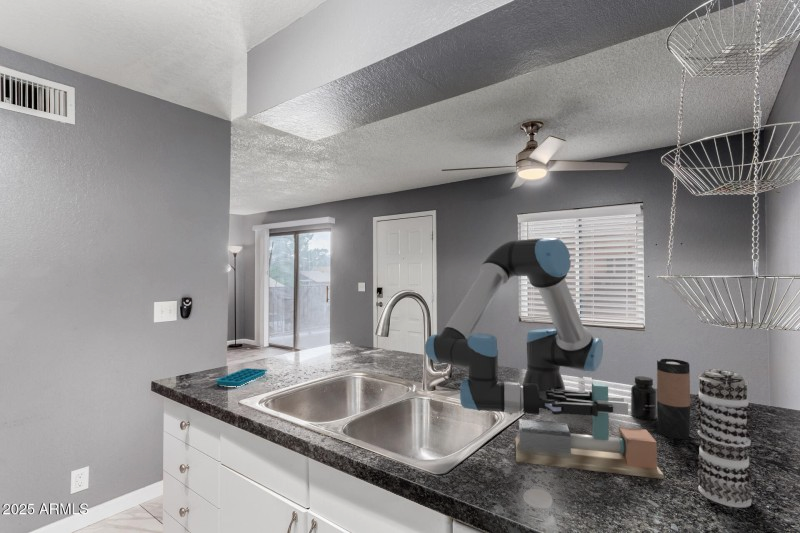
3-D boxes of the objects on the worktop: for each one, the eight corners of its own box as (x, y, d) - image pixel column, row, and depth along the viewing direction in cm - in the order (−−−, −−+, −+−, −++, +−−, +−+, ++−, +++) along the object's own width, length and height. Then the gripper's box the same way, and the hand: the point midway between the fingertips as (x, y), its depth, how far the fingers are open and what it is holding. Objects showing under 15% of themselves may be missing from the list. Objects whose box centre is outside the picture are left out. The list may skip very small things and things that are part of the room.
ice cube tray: (268, 376, 175) (268, 369, 175) (238, 390, 155) (238, 382, 155) (245, 374, 178) (245, 368, 178) (213, 388, 159) (213, 380, 159)
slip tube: (552, 448, 98) (551, 383, 98) (551, 442, 101) (550, 379, 101) (625, 456, 93) (624, 388, 93) (621, 450, 97) (620, 383, 97)
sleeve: (519, 453, 98) (519, 429, 98) (519, 441, 105) (519, 419, 105) (570, 458, 95) (570, 434, 95) (566, 446, 102) (566, 423, 102)
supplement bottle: (651, 422, 119) (650, 382, 119) (627, 415, 125) (626, 377, 125) (660, 417, 123) (660, 378, 123) (637, 411, 129) (636, 373, 129)
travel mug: (696, 440, 107) (695, 365, 107) (664, 438, 108) (663, 364, 108) (682, 429, 114) (681, 359, 114) (652, 427, 116) (652, 358, 116)
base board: (516, 461, 96) (516, 457, 96) (515, 440, 107) (515, 436, 107) (663, 479, 87) (663, 474, 87) (645, 454, 99) (645, 450, 99)
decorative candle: (729, 512, 76) (727, 379, 76) (684, 486, 85) (683, 368, 85) (767, 505, 77) (765, 376, 78) (719, 481, 86) (718, 365, 87)
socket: (627, 465, 91) (626, 439, 92) (619, 451, 98) (618, 427, 98) (656, 468, 90) (656, 442, 90) (646, 454, 97) (646, 429, 97)
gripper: (521, 402, 109) (617, 409, 103) (523, 425, 93) (635, 435, 87) (521, 375, 109) (616, 380, 103) (522, 393, 93) (635, 401, 87)
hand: (625, 405), depth 95 cm, fingers closed on slip tube, 3 cm apart
